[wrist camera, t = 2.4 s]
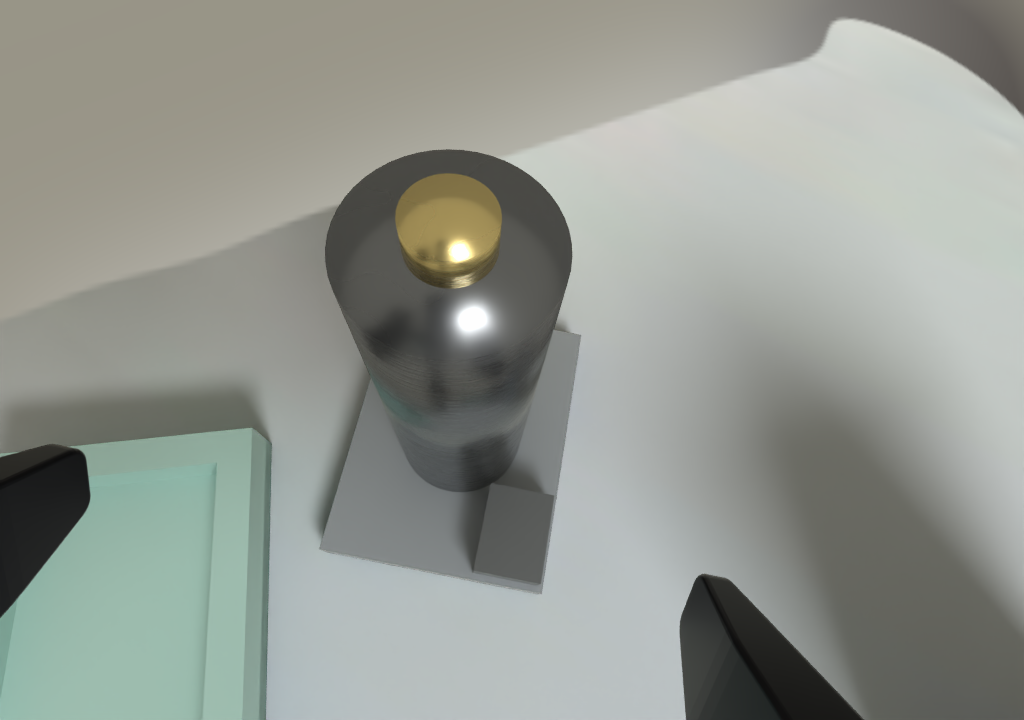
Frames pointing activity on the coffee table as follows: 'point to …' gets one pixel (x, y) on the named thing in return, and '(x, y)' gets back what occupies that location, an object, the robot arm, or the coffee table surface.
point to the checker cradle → (458, 495)
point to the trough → (151, 589)
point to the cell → (451, 303)
